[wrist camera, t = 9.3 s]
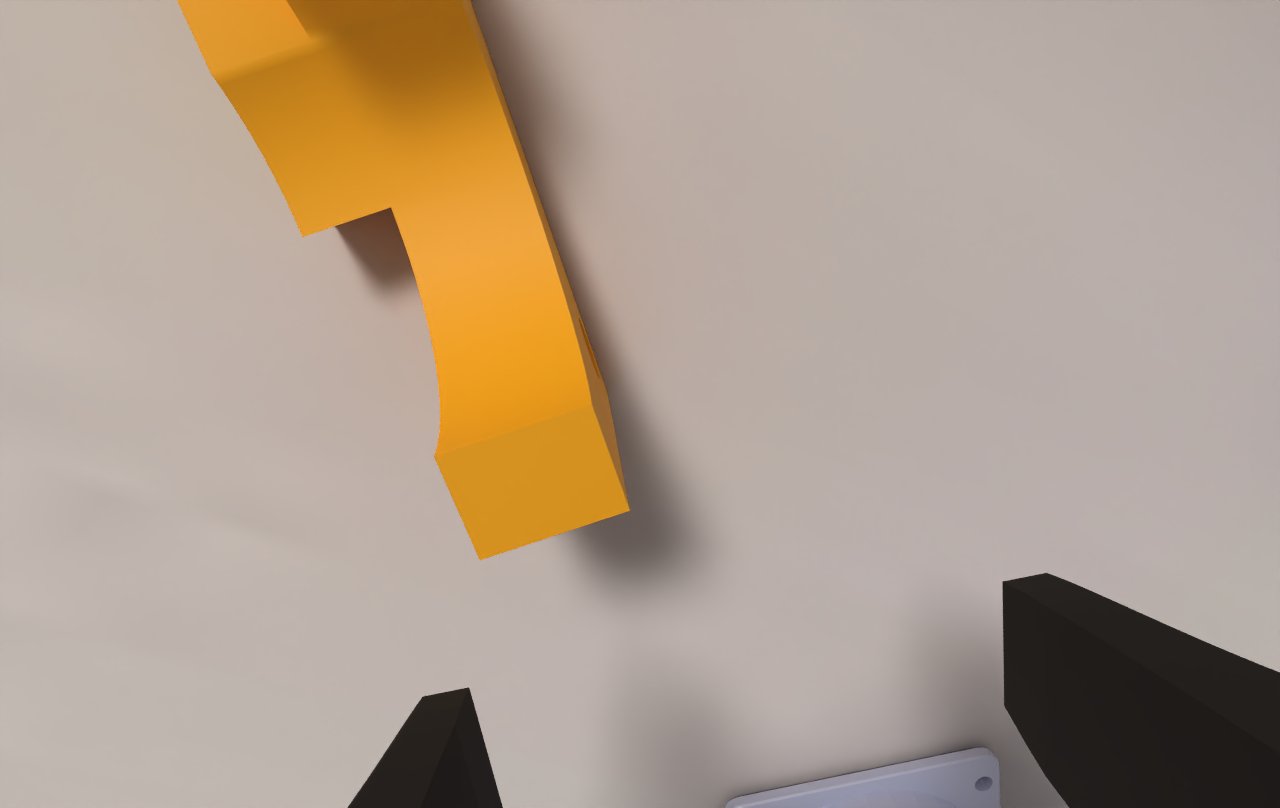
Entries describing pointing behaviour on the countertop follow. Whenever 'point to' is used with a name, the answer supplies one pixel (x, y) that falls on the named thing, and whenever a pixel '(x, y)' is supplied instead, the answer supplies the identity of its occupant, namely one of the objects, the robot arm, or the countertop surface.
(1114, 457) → the countertop surface
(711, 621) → the countertop surface
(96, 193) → the countertop surface
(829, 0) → the countertop surface
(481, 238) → the pipe clamp
